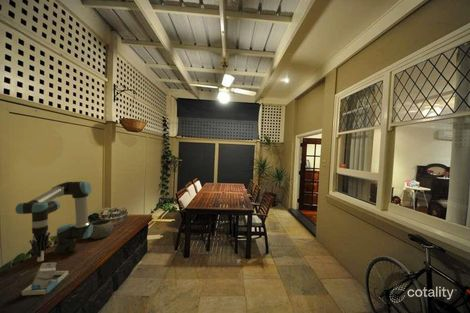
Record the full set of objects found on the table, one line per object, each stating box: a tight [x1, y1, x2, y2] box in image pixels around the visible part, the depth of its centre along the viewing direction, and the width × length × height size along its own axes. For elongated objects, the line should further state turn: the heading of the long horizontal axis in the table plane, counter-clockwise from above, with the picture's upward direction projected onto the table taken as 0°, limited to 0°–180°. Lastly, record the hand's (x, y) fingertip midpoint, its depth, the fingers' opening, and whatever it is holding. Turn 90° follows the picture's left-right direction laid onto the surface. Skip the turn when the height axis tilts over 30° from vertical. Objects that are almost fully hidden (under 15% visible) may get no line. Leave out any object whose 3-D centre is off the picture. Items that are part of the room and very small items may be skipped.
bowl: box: [89, 219, 114, 240], centre depth 210 cm, size 23×23×15 cm
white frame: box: [21, 270, 69, 296], centre depth 135 cm, size 20×14×4 cm
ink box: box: [31, 262, 57, 290], centre depth 131 cm, size 9×5×15 cm, turn 137°
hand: (40, 260), depth 130 cm, fingers closed
